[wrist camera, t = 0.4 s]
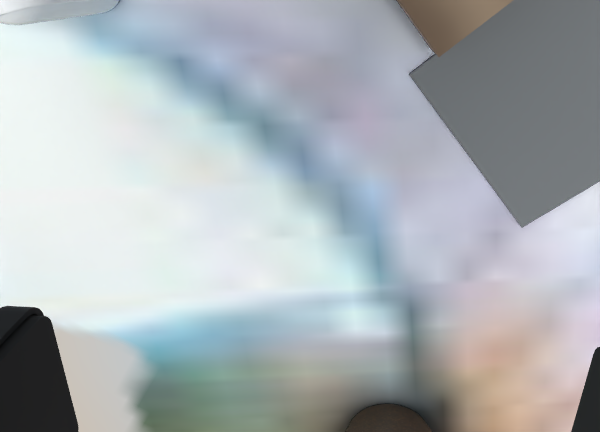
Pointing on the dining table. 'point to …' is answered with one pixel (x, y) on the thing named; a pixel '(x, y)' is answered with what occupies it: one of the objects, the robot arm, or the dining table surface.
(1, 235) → the dining table surface
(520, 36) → the mat
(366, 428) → the plant pot
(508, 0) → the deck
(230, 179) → the dining table surface
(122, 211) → the dining table surface
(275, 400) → the dining table surface
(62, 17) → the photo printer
